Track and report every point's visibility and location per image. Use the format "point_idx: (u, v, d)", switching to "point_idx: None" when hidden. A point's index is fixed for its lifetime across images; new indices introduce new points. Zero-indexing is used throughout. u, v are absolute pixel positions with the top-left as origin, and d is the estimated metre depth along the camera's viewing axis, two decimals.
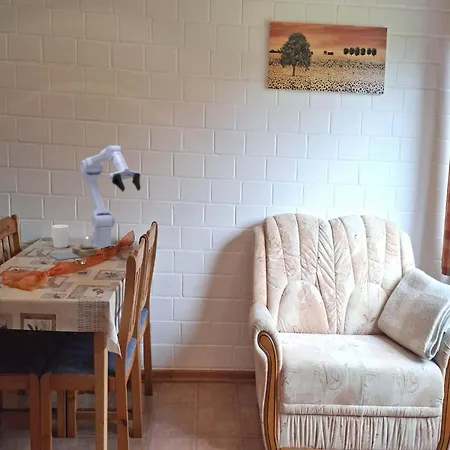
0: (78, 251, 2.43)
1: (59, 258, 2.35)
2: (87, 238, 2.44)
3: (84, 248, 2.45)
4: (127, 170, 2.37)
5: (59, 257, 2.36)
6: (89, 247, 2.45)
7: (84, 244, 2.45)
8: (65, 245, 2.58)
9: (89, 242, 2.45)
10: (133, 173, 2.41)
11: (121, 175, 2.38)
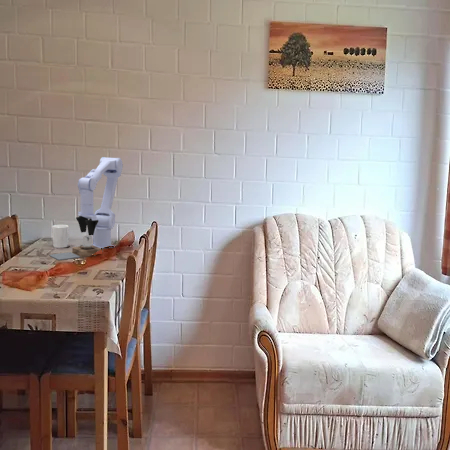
0: (78, 251, 2.43)
1: (59, 258, 2.35)
2: (87, 238, 2.44)
3: (84, 248, 2.45)
4: (81, 215, 2.42)
5: (59, 257, 2.36)
6: (89, 247, 2.45)
7: (84, 244, 2.45)
8: (65, 245, 2.58)
9: (89, 242, 2.45)
10: (89, 217, 2.40)
11: None
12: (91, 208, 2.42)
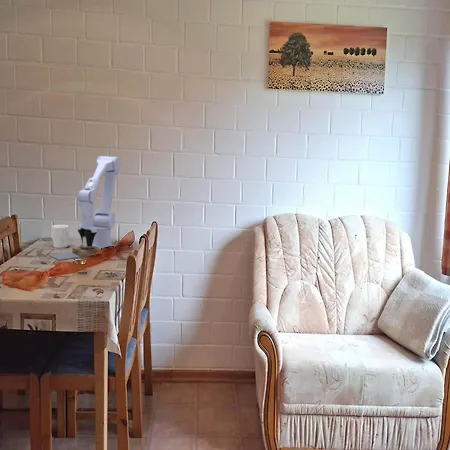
0: (78, 251, 2.43)
1: (59, 258, 2.35)
2: None
3: (84, 248, 2.45)
4: (81, 227, 2.43)
5: (59, 257, 2.36)
6: (89, 247, 2.45)
7: (84, 244, 2.45)
8: (65, 245, 2.58)
9: None
10: None
11: None
12: (91, 220, 2.43)
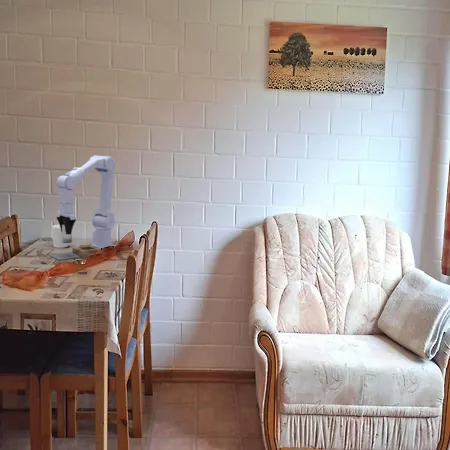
0: (78, 251, 2.43)
1: (59, 258, 2.35)
2: None
3: (63, 236, 2.37)
4: None
5: (59, 257, 2.36)
6: (68, 235, 2.37)
7: (63, 232, 2.37)
8: (65, 245, 2.58)
9: None
10: (67, 216, 2.34)
11: None
12: (70, 207, 2.35)
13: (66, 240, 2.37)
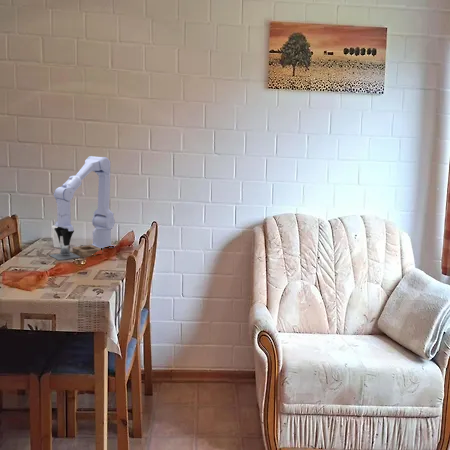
0: (78, 251, 2.43)
1: (59, 258, 2.35)
2: None
3: (61, 248, 2.38)
4: None
5: (59, 257, 2.36)
6: (66, 246, 2.38)
7: (61, 244, 2.37)
8: None
9: None
10: (65, 227, 2.34)
11: None
12: (68, 218, 2.35)
13: (64, 251, 2.38)
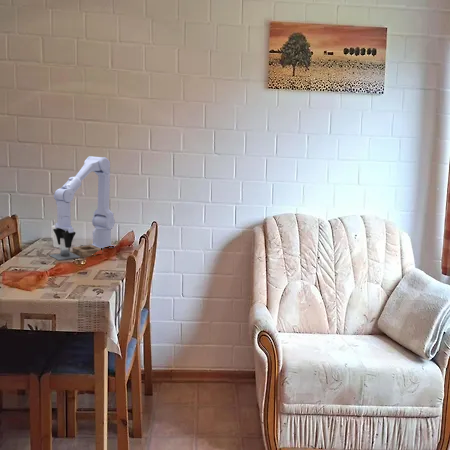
0: (78, 251, 2.43)
1: (59, 258, 2.35)
2: None
3: (62, 250, 2.38)
4: (57, 227, 2.35)
5: (59, 257, 2.36)
6: (67, 249, 2.38)
7: (62, 246, 2.37)
8: None
9: None
10: None
11: None
12: (68, 220, 2.36)
13: (64, 253, 2.38)
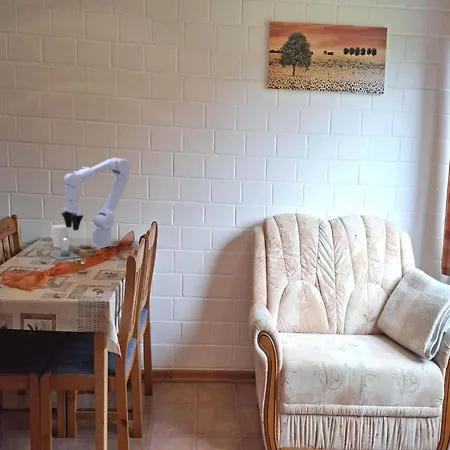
0: (78, 251, 2.43)
1: (59, 258, 2.35)
2: (65, 239, 2.37)
3: (62, 250, 2.38)
4: (66, 211, 2.46)
5: (59, 257, 2.36)
6: (67, 249, 2.38)
7: (62, 246, 2.38)
8: None
9: (67, 244, 2.38)
10: None
11: None
12: (76, 203, 2.46)
13: (64, 253, 2.38)
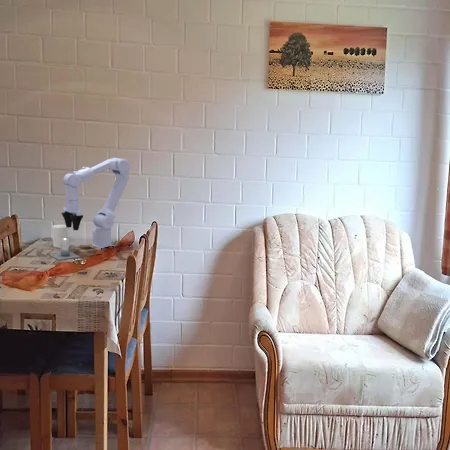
0: (78, 251, 2.43)
1: (59, 258, 2.35)
2: (64, 239, 2.37)
3: (62, 250, 2.38)
4: (66, 211, 2.46)
5: (59, 257, 2.36)
6: (67, 249, 2.38)
7: (62, 246, 2.38)
8: None
9: (67, 244, 2.38)
10: None
11: None
12: (76, 203, 2.46)
13: (64, 253, 2.38)
